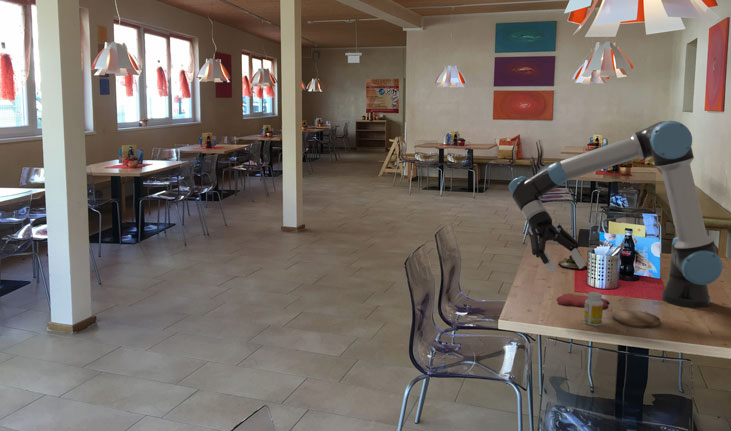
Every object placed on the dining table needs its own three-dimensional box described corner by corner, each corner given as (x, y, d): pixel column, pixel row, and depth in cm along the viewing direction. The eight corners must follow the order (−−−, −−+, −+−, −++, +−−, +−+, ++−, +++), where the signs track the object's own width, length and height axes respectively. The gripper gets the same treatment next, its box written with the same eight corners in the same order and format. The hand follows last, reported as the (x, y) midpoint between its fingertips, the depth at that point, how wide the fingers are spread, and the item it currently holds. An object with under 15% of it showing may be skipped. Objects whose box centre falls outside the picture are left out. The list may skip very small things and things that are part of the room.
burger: (552, 265, 272) (553, 249, 271) (573, 263, 277) (574, 246, 276) (572, 271, 261) (573, 254, 260) (593, 269, 266) (594, 252, 265)
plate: (639, 312, 206) (639, 308, 206) (669, 325, 192) (670, 321, 192) (602, 315, 202) (603, 311, 202) (631, 329, 189) (632, 324, 189)
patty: (554, 306, 213) (554, 300, 213) (558, 295, 226) (558, 290, 225) (608, 312, 206) (609, 306, 206) (609, 301, 219) (610, 296, 219)
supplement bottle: (580, 323, 194) (582, 293, 192) (587, 319, 198) (589, 290, 196) (597, 327, 190) (599, 297, 189) (604, 323, 194) (606, 293, 192)
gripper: (556, 220, 220) (587, 270, 210) (504, 225, 208) (534, 279, 198) (569, 208, 215) (601, 258, 205) (516, 212, 203) (547, 266, 192)
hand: (568, 269), depth 201 cm, fingers open, 13 cm apart
